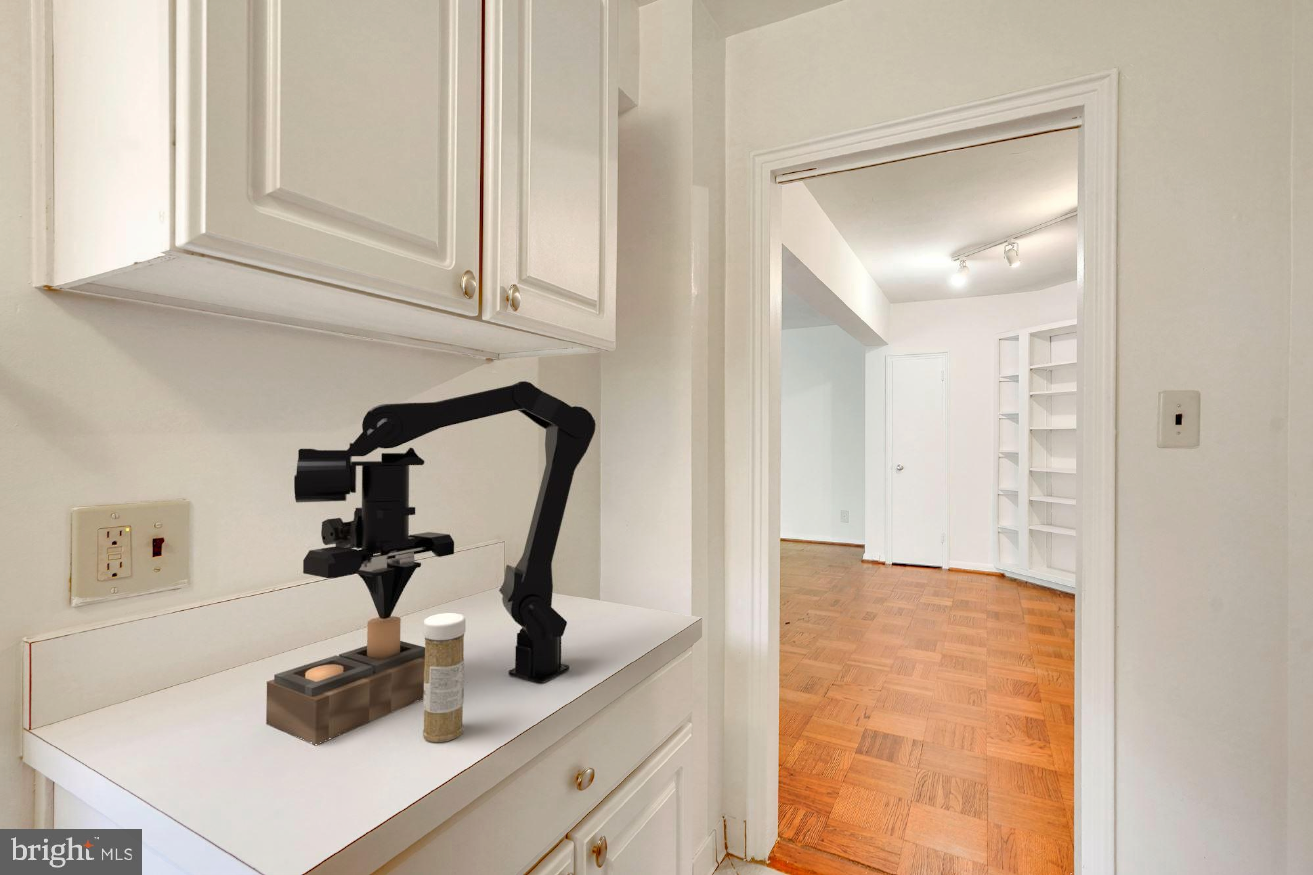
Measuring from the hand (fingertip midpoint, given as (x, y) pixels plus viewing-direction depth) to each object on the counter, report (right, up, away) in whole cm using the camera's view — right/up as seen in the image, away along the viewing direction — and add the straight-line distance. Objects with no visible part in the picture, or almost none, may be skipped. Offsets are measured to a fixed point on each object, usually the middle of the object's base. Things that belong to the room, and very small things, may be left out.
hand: (384, 618), depth 80 cm
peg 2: (0, -6, 0) cm, 6 cm away
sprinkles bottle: (+11, -11, -10) cm, 19 cm away
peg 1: (-4, -10, -7) cm, 13 cm away
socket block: (-2, -10, -4) cm, 11 cm away
